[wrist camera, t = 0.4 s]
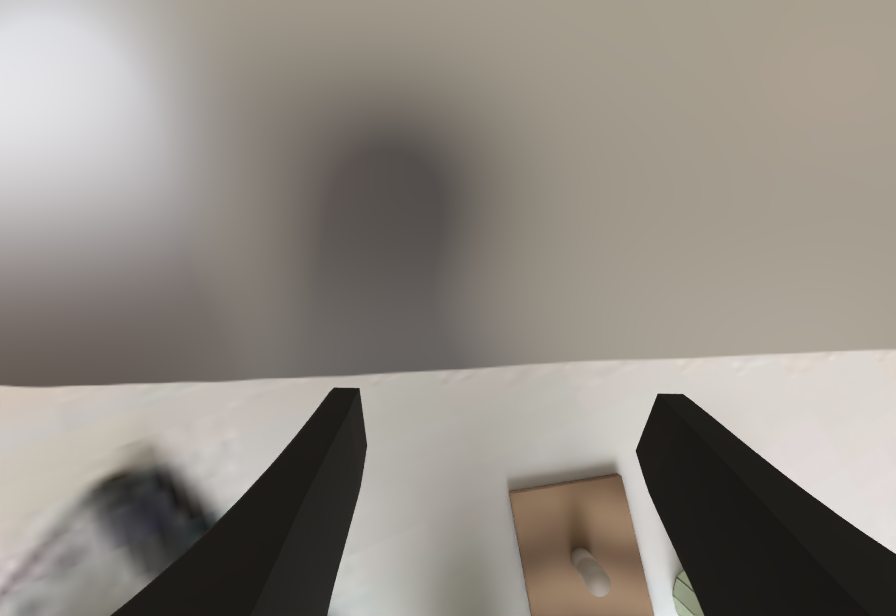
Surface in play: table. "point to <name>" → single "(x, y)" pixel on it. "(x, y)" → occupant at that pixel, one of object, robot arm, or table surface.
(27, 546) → the table surface
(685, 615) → the green segmented tube
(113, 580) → the table surface
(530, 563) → the spool holder
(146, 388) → the table surface
